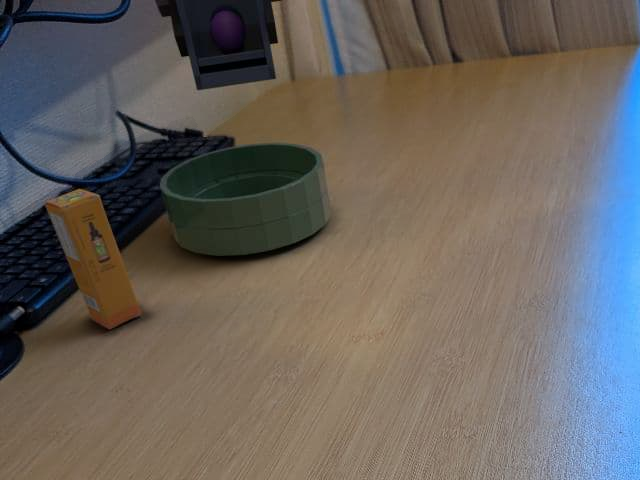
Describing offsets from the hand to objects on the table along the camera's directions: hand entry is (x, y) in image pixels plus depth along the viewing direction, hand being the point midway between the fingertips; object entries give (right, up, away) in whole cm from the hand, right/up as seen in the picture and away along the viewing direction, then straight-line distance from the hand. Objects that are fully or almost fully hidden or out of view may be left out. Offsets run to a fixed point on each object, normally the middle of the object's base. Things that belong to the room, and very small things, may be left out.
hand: (227, 39), depth 72 cm
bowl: (+1, -13, +8) cm, 16 cm away
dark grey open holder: (0, 0, +5) cm, 5 cm away
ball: (-1, +3, +4) cm, 5 cm away
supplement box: (-9, -25, -3) cm, 27 cm away
